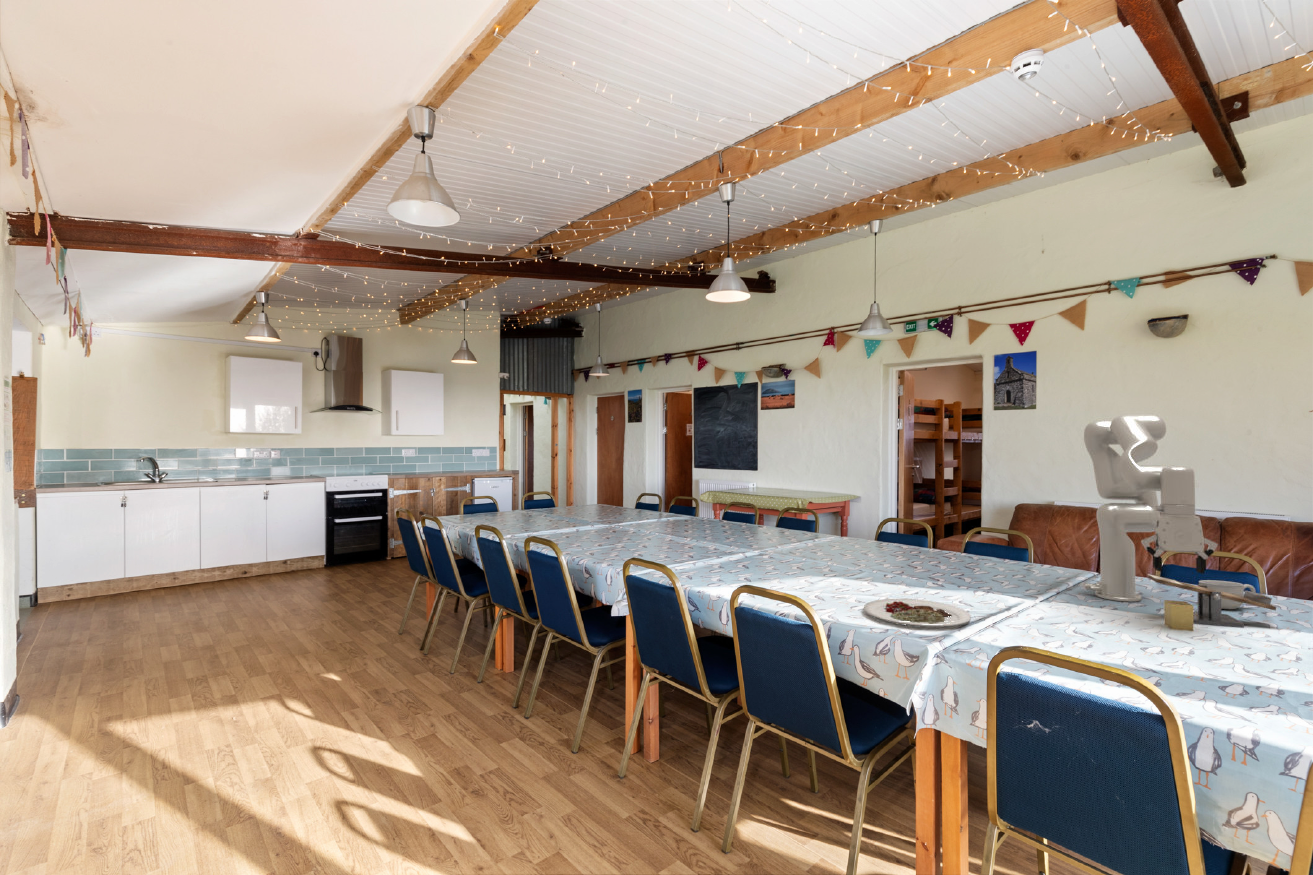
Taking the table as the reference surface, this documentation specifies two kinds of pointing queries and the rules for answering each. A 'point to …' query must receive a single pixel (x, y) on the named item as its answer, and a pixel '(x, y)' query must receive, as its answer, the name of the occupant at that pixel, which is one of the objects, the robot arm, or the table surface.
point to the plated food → (917, 612)
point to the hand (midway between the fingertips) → (1179, 571)
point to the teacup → (1227, 591)
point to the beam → (1248, 597)
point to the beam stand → (1213, 611)
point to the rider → (1178, 615)
